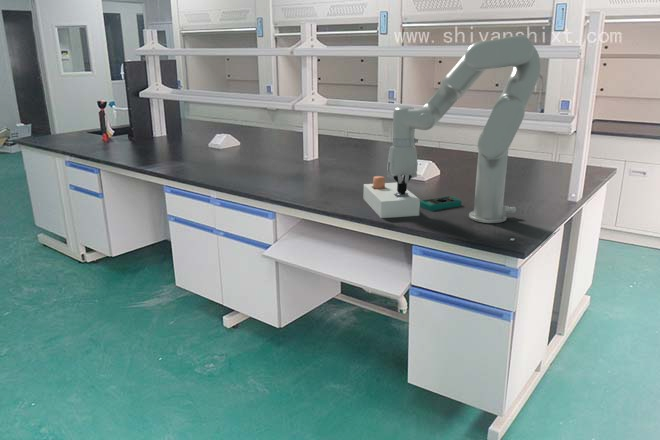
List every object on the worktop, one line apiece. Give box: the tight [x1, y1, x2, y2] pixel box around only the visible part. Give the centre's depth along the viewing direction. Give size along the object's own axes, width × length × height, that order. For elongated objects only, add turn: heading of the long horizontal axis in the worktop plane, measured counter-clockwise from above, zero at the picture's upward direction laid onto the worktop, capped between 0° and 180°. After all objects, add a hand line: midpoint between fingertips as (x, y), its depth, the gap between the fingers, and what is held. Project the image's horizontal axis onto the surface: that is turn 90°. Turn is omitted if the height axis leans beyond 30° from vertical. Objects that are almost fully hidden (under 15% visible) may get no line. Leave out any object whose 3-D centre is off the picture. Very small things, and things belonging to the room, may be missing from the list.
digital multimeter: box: [420, 195, 463, 212], centre depth 198 cm, size 7×15×3 cm, turn 116°
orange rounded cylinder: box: [372, 175, 386, 189], centre depth 202 cm, size 4×4×6 cm
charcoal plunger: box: [396, 192, 408, 197], centre depth 191 cm, size 4×4×6 cm
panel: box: [363, 181, 421, 219], centre depth 197 cm, size 14×26×6 cm, turn 10°
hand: (401, 193), depth 190 cm, fingers closed
